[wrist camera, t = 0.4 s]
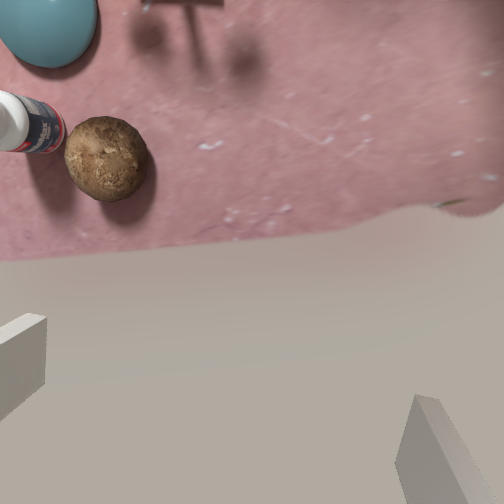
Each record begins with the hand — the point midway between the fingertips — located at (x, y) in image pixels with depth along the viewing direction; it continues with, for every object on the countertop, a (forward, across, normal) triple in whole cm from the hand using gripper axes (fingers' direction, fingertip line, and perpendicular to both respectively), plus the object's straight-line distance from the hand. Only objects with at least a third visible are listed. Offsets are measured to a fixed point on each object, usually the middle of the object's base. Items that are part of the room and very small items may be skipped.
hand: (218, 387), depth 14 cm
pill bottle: (+28, -26, +7) cm, 39 cm away
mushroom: (+28, -17, +6) cm, 33 cm away
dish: (+28, -26, +18) cm, 42 cm away
